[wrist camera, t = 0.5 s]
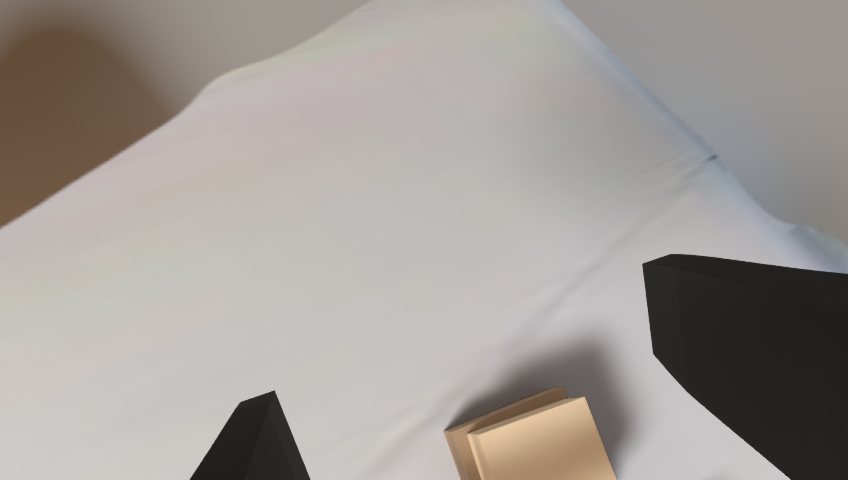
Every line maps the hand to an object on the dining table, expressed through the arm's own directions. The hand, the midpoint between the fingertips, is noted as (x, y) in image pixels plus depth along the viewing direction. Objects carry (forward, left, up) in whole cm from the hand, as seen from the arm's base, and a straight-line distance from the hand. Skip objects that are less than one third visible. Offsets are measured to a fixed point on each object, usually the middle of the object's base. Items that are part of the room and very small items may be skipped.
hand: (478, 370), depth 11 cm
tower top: (-6, -7, -22) cm, 24 cm away
